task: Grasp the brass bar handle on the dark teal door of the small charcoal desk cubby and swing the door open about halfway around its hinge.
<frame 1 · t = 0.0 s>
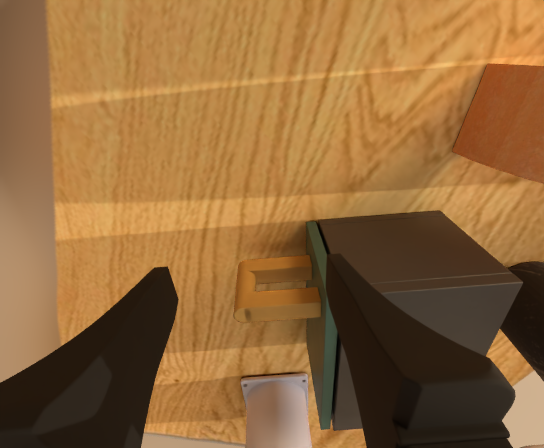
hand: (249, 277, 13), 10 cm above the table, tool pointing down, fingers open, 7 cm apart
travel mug: (515, 287, 28), on the table
cubby door: (284, 329, 24), point 4 cm above the table, hinge at 0.0°
cubby: (368, 285, 27), on the table
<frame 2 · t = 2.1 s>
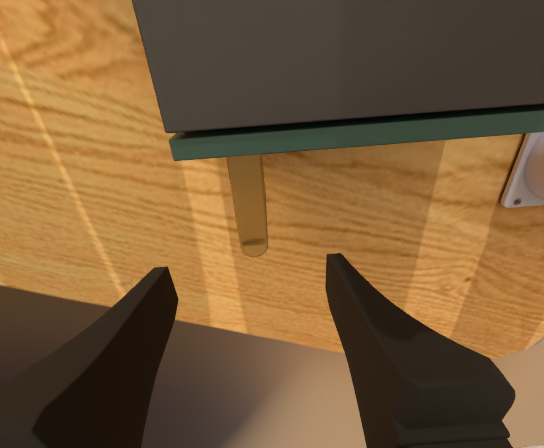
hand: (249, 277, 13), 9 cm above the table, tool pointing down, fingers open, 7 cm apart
cubby door: (347, 169, 15), point 4 cm above the table, hinge at 0.0°
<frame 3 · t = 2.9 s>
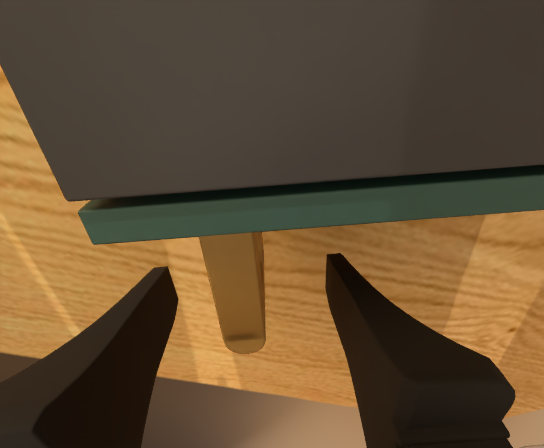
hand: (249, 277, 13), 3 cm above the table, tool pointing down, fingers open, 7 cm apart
cubby door: (381, 219, 11), point 4 cm above the table, hinge at 0.0°
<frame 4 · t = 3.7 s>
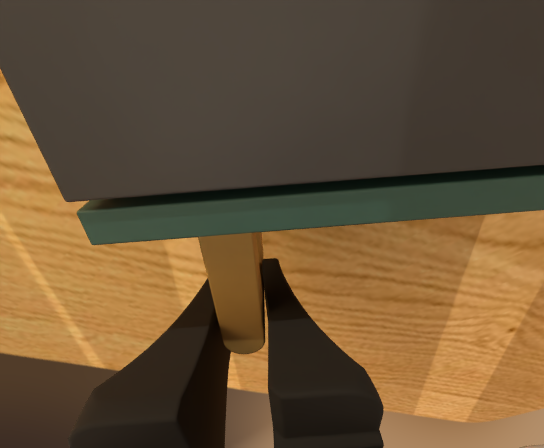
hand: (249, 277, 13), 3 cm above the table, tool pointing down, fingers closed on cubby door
cubby door: (380, 219, 11), point 4 cm above the table, hinge at 0.0°, touching gripper
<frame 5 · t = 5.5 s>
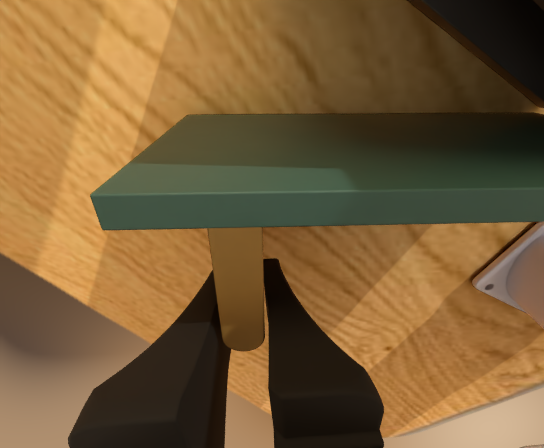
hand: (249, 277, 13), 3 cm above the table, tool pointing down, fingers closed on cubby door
cubby door: (384, 223, 11), point 4 cm above the table, hinge at 28.5°, touching gripper
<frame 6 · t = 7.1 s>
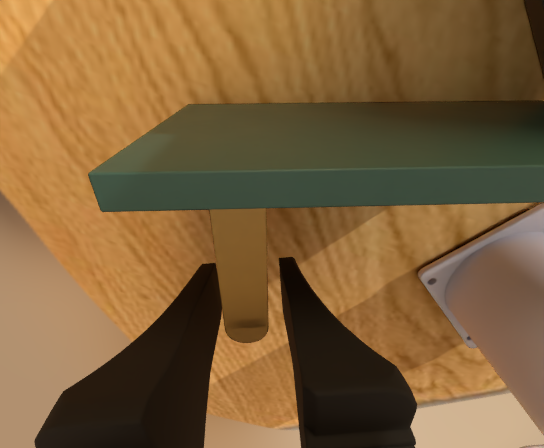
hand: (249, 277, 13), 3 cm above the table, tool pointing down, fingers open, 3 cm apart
cubby door: (390, 213, 10), point 4 cm above the table, hinge at 51.4°
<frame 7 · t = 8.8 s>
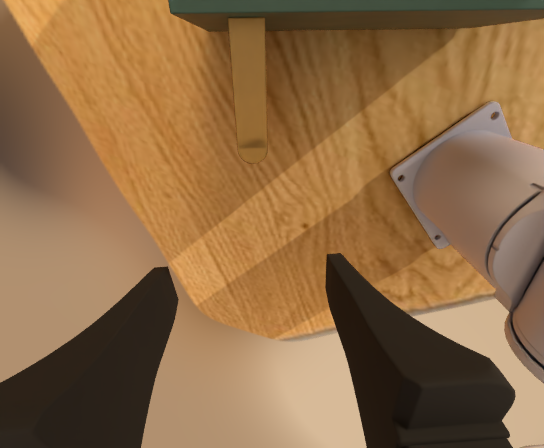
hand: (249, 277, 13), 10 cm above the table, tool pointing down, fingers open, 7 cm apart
cubby door: (355, 81, 15), point 4 cm above the table, hinge at 51.4°
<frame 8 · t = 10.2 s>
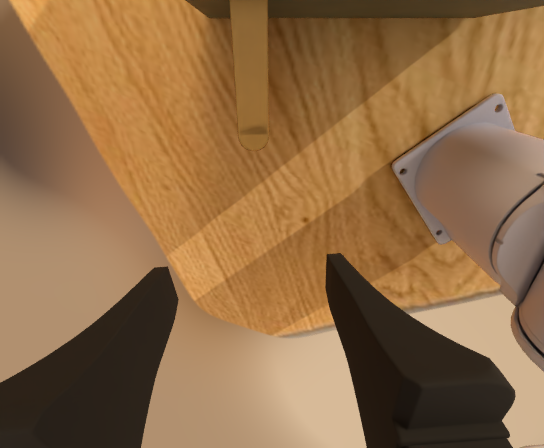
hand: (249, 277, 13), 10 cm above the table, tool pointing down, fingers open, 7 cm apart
cubby door: (358, 68, 14), point 4 cm above the table, hinge at 51.4°
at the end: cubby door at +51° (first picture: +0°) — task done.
